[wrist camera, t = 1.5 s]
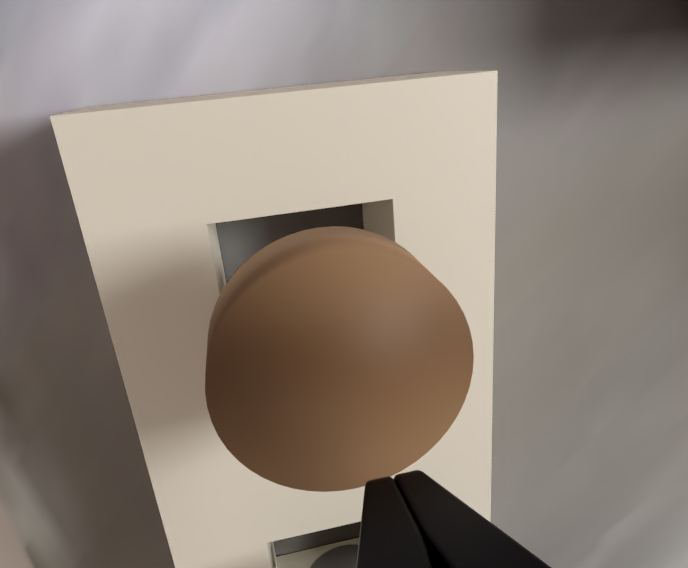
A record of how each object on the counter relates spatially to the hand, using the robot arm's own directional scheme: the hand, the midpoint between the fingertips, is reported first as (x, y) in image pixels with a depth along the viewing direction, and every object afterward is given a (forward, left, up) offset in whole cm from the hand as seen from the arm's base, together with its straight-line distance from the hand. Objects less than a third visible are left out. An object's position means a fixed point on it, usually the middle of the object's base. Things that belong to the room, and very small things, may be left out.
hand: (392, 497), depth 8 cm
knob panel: (-5, 0, -12) cm, 13 cm away
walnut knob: (0, 0, -8) cm, 8 cm away
